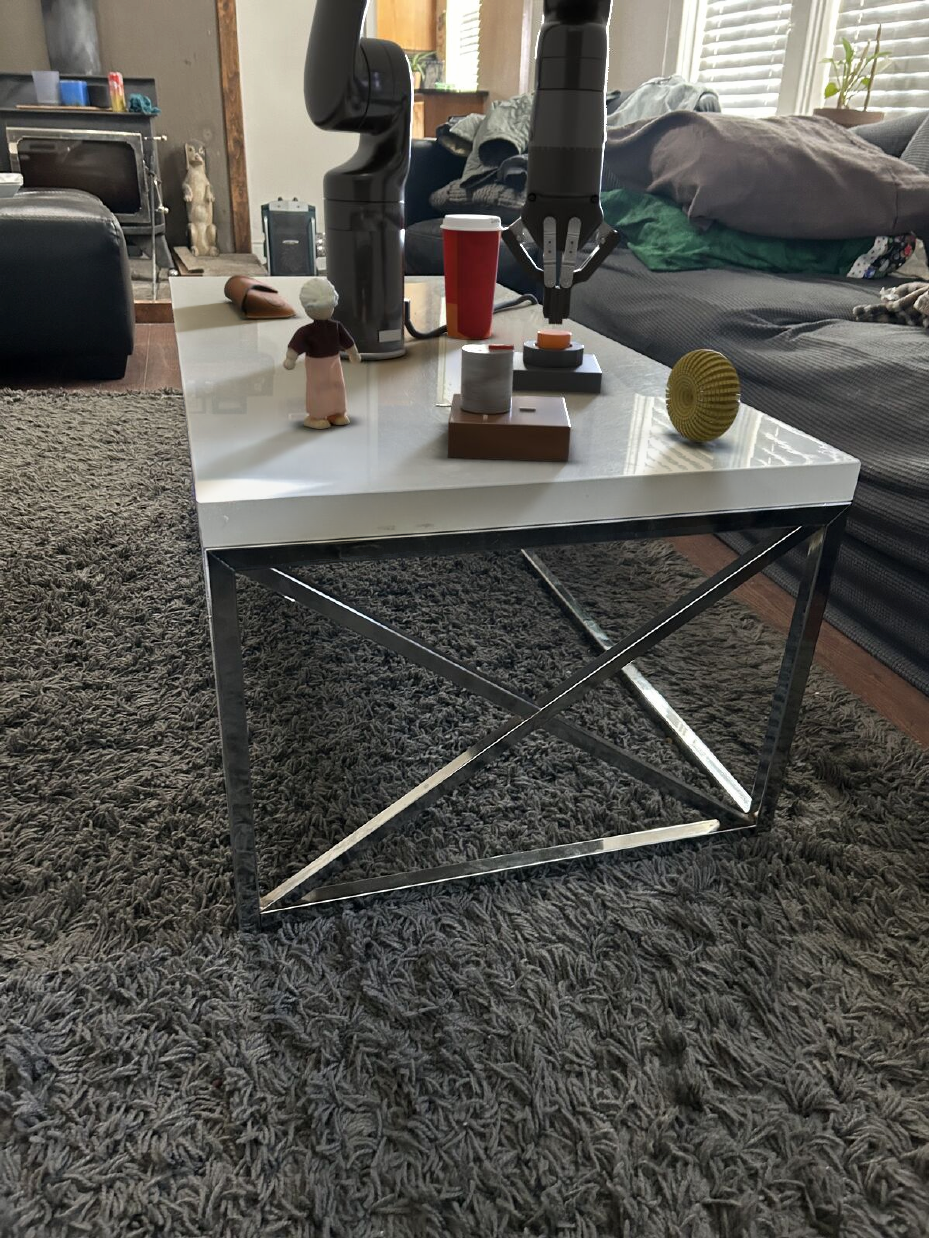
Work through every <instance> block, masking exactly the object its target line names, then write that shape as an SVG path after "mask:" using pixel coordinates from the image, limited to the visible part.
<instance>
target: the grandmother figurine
mask: <svg viewBox="0 0 929 1238" xmlns="http://www.w3.org/2000/svg"><path fill="white" fill-rule="evenodd" d="M299 292H300V293H299V294H298V296H299V297H298V299H299V301H300V305H301V306H302V308H303V309H304V313H305V314H306V316H307V317H308V318H309V319H310V320H313V321H312V322H310V323H307V324H305V325H302V326H300V327H299V328H297V330H296V331H295V332H294V334H293V335H292V337H291V338H290V341H288V344H287V351H286V353H285V359H284V360H283V363H282V366H283V368H284V369H285V370H287V371H293V370H294V369H295V368H296V362H297V361H298V359H299V357H300V356H302V355H303V354H304V368H305V377H306V381H305V382H306V383H305V412H306V414H308V415H307V416H306V417H305V419H304V420H303V422H302V423H303V426H305V427H308V428H312V429H315V430H316V429H317V430H324V429H329V428H331V424H333V425H336V426H342V425H349V424H350V423H351V421H350V419H349V417H348V415H347V412H348V407H347V406H348V405H347V392H346V385H345V384H346V383H345V379H344V373H343V368H342V362H341V357H340V355H339V346H340V347H342V348H344V349H345V351H346V353H347V355H348V356H349V357H350V359H349V361H350V363H351V364H353V365H358V364H360V363H361V361H362V360H361V357H360V355H359V354H358V353H357V348H356V346H355V343H354V340H353V339H352V337H351V336H350V335H349V333H348V332H347V331H346V329H345V328H344V327H343V326H342V324H341V323H340V322H338V321H333V320H328V319H329V318H330V317H331V315H332V313H333V310H334V307H335V306H336V305H338V303H337V299H338V294H337V292H336V291H335V290H334V286H333V285H332V284H331V283H330V282H329V281H328V280H327V278H322V277H314V278H311V279H309V280H308V281H307V282H305V283H303V284H302V286H301V288H300V291H299Z"/></svg>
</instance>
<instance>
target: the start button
mask: <svg viewBox="0 0 929 1238" xmlns="http://www.w3.org/2000/svg"><path fill="white" fill-rule="evenodd" d="M571 335H572V332H570V331H568V330H565V329H557V328H556V329H555V328H550V329H549V328H547V329H546V328H545V329H540V330H539V329H538V331H537V335H536V336H537V337H536V340H537V346H538V347H543V348H552V349H563V348H570V341H571V338H572V336H571Z"/></svg>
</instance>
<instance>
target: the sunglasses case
mask: <svg viewBox="0 0 929 1238" xmlns="http://www.w3.org/2000/svg"><path fill="white" fill-rule="evenodd" d="M223 295H224V296H225V298H227V299H228V300H230V301H231V302H232V303H233V304H234V305H235V306H236V308H237V309H238V310H239V311H240V312H241V313H243V314H244V316H245V317H246V318H247V319H251V320H252V319H257V320H275V319H285V318H291V317H295V316H297V313H296V311H295V309H294V308H293V306H291V304H290V303H289V302H288V300H286V299H285V298H284V297H282V295H280V293H279V290H278V289H276V288H274V286H271V285H270V284H269V285H268V284H266V283H264V282H262V281H260V280H259V279H256V278H253V277H249V276H247V275H240V274H239V275H238V274H235V275H233V276H231V277H229V278H228V280H227V281H226V282H225V284H224V288H223Z"/></svg>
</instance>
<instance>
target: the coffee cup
mask: <svg viewBox="0 0 929 1238" xmlns="http://www.w3.org/2000/svg"><path fill="white" fill-rule="evenodd" d="M501 223H502V221H501V217H500V216H497V215H486V214H485V215H484V214H446V215H445V216H444V218H443V220H442V224H441V225H439V227H440V229H442V245H443V246H442V247H443V248H442V249H443V275H444V276H443V277H444V301H445V302H444V303H445V322H446V323H445V325H447V332H446V336H447V337H450V338H454V339H459V340H483V339H488V338H490V337H491V336H492V335H491V334H492V328H493V318H494V312H493V309H494V304H495V297H496V287H497V277H498V276H497V275H498V265H499V254H500V244H501V232H502V230H503V229H504V227H503V226H502V224H501Z"/></svg>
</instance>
